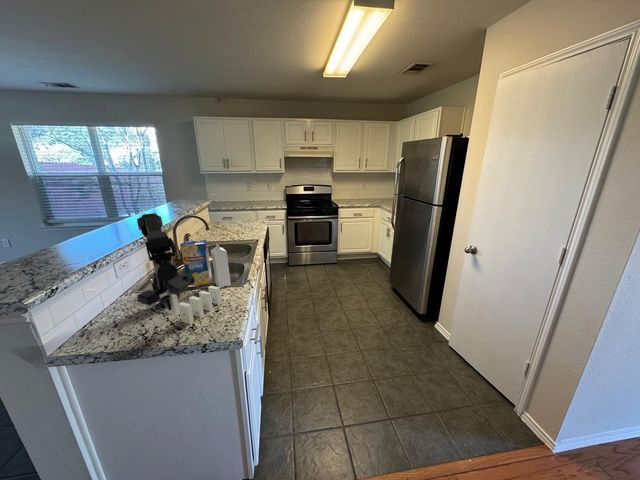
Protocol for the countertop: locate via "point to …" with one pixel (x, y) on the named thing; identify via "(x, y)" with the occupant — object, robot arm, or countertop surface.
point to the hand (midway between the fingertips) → (172, 308)
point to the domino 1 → (173, 304)
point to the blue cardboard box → (197, 261)
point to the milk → (220, 266)
